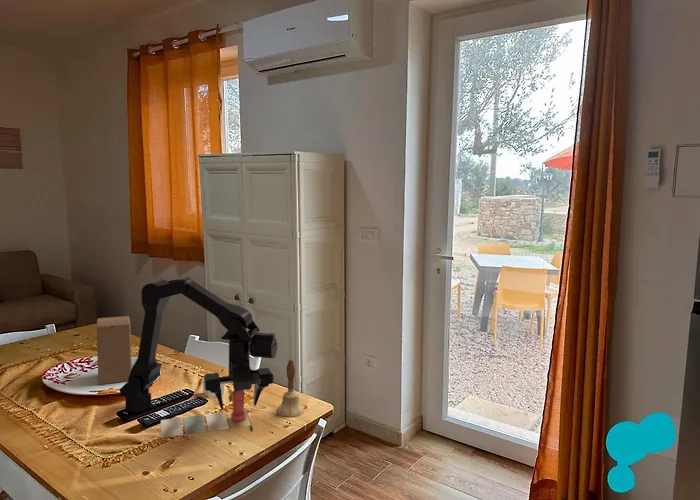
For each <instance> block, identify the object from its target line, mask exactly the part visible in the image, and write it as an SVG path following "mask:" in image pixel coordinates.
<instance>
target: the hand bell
mask: <svg viewBox="0 0 700 500" xmlns="http://www.w3.org/2000/svg"><path fill="white" fill-rule="evenodd" d="M295 374H296V365H295V364H294V360H293V359H288V361H287V365H286V377H287V391H285V392H284V393H283V395H282V401H281V403H280V405H279V406H277V409H276V413H277V414H278V415H280V416H283V417H286V418H294V417H298V416H300V415H302V414H304V412H305V408H304V406H303V405H302V404H301V403H300V400H299V393H298V391H295V387H294V380H295V379H294V378H295V376H296V375H295Z"/></svg>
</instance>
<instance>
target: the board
mask: <svg viewBox="0 0 700 500" xmlns="http://www.w3.org/2000/svg"><path fill="white" fill-rule="evenodd" d="M244 411H245V412H246V419H245V420H244V421H241V422H234V421H232V420H231V413H232V412H233V410H231V411H226V412H225V411H222V412H214V413H206V414H205V418H204V414H199V415H192V416H191V415H190V416H184V417H183V418H182V417H175V418H167V419H166V418H165V419H161V420H160V438H161V439H164V438H170V437H171V438H172V437H177V436H183V435H192V434H199V433H205V432H207V430H208V432H212V431H213V432H214V431H221V430H228V429H229V430H230V428H231V429H236V428H242V427H243V428H244V427H248V428H249V431H250V432H254V427H253V424H252V422H251V420H250V416H249V413H248V411H247V409H246V408H245V407H244ZM226 414H227V415H226ZM226 416H227V417H226ZM182 419H183V422H182ZM227 419H228V420H227ZM205 420H206V423H205ZM228 422H229V423H228ZM206 424H207V427H206ZM229 425H230V426H229ZM183 426H184V427H183ZM183 428H184V432H183Z"/></svg>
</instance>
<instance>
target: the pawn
mask: <svg viewBox="0 0 700 500" xmlns="http://www.w3.org/2000/svg"><path fill="white" fill-rule="evenodd" d="M231 397H232V411H233V412H232V413H231V420H232V421H234V422H241V421H244V420H245V419H246V412H245V411H244V409H245V397H246V392H245V390H240V391H235V390H234V389H233V391H232V392H231Z"/></svg>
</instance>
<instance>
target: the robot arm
mask: <svg viewBox="0 0 700 500" xmlns="http://www.w3.org/2000/svg"><path fill="white" fill-rule="evenodd" d="M140 292H141V293H140V294H141V295H140V297H141V300H140V301H141V306H142V308H143V310H144V314H143V321H142V327H141V335H140V340H139V341H140V342H139V346H138V354H137V358H136V360H135V362H134V364H133V365H132V366H131V372H130V374H129V377H128V381H126V382H125V384H124V385H123V386H122V387H121V388H119V393H120V396H121V397H124V399H125V403H124V404H125V412H130V413H131V412H132V413H139V412H143V411H145V410H149V409H151V408H152V393H151V392H150V388H151V387H152V386H153V385H154V383H155V382H156V381H157V379H158V378H159V377H160V376H161V368H162V363H161V362H158V361H157V358H156V356H157V355H156V354H157V349H158V342H159V338H160V337H159V336H160V331H161V325H162V317H163V312H164V310H165V308H166V307H167V305H168V303H169V301H170V298H171V297H172V296H176V295H179V294H181V295H183V296H185V297H186V298H188V299H189V300H190V301H192V302H193V303H195V304H196V305H198V306H199V307H200V308H203V309H204V310H206V311H207V312H209V313H210V314H212V315H213V316H215V318H217V320H218V321H219V323H220V324H221V325H222V326H223V327H224V328H225V329H226V330H227V331H226V332H225V334H223V335H222V336H221V338H220V339H221V340H225V341H228V375H224V376H220V374H219V372H213V373H212V372H210V373H205V374H204V375H203V381H204V386H205V390H206V391H210V392H211V393H215V395H216V396H215V397H216V398H217V402H218V404H219V407H220V410H221V411H223V410H224V404H223V402H224V401H223V395H222V394H221V388H220V384H224V385H225V384H232V386H233V388H232V389H233V391H234V390H235V391H240V390H244V391H245V390H246V391H250V390H251V389H252V386H253V385H254V387H253V390H254V391H253V406H254V407H256V406H257V403H258V402H259V398H260V396H261V394H262V392H263V390H264V389H265V388H268V387H269V385H272V384H274V380H275V379H274V378H275V377H274V374H273V372H272V370H271V369H270V368H269V367H263V368H262V367H261V368H256V369H251V366H250V365H251V364H250V363H251V362H250V356H253V357H254V358H263V359H275V358H276V355H277V352H278V342H277V337H276V334H275V333H273V332H269V333H268V332H267V333H266V332H260V331H261V329H260V328H259V326H258V325H257V324H256V322H255V321H254V319H253V315H252V313H251V312H250V311H249V310H248V309H246V308H244V307H242V306H240V305H236V304H231V303H229V302H226V301H225V300H223V299H221V297H219V296H217V295H216V294H214V293H213V292H211V291H209V290H208V289H206V288H205V287H203V286H202V285H200V284H199V283H197V282H195V281H194V280H193V278H191V277H188V276H185V277H182V278H178V279H172V280H166V279H162V278H161V279H158V280H154V281H151V282H149V283H147V284H145V285H144V286H142V289H141V291H140ZM247 329H248V330H247Z"/></svg>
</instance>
